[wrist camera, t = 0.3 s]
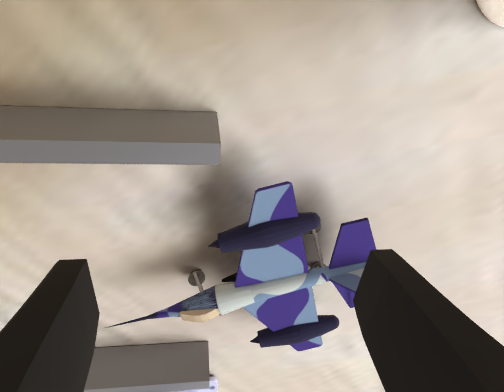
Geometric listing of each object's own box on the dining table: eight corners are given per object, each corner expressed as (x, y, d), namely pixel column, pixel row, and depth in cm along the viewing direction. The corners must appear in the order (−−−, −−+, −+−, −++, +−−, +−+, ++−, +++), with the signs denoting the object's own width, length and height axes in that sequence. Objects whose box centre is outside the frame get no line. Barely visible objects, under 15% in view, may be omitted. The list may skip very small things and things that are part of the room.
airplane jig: (207, 349, 29) (209, 388, 27) (-47, 364, 26) (-70, 410, 24) (216, 112, 18) (220, 143, 16) (-220, 98, 15) (-296, 133, 13)
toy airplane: (109, 293, 24) (98, 344, 21) (234, 119, 18) (243, 157, 16) (272, 344, 30) (281, 390, 27) (408, 223, 24) (438, 265, 21)
